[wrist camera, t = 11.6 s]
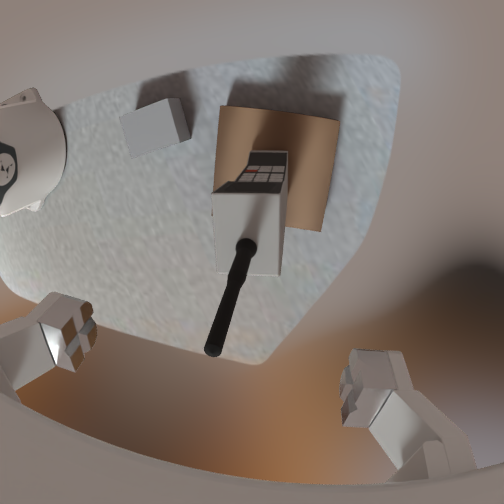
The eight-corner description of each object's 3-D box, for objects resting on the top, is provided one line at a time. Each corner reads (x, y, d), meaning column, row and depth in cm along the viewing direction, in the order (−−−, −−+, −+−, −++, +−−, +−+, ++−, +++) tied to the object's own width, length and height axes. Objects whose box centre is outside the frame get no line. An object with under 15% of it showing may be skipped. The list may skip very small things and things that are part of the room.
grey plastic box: (146, 152, 36) (131, 158, 33) (135, 114, 34) (119, 117, 31) (191, 138, 35) (180, 142, 31) (180, 98, 33) (167, 98, 29)
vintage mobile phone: (288, 150, 31) (268, 277, 9) (287, 197, 33) (267, 394, 11) (251, 149, 32) (142, 270, 9) (251, 196, 34) (169, 383, 11)
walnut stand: (217, 207, 38) (211, 215, 35) (226, 105, 33) (220, 105, 30) (318, 222, 37) (320, 231, 34) (336, 120, 32) (340, 121, 29)
